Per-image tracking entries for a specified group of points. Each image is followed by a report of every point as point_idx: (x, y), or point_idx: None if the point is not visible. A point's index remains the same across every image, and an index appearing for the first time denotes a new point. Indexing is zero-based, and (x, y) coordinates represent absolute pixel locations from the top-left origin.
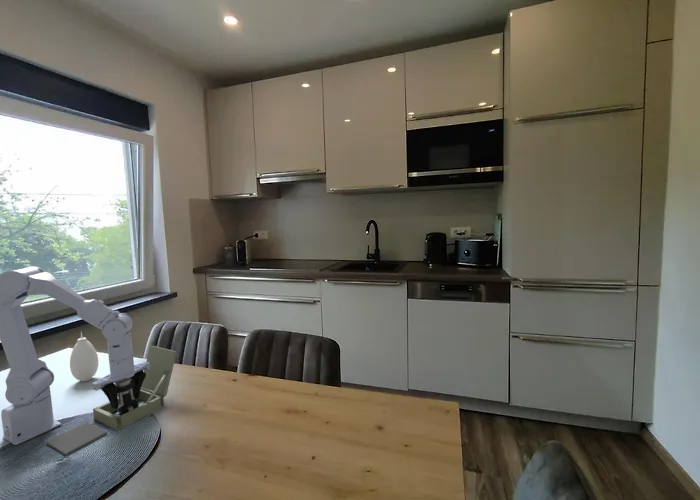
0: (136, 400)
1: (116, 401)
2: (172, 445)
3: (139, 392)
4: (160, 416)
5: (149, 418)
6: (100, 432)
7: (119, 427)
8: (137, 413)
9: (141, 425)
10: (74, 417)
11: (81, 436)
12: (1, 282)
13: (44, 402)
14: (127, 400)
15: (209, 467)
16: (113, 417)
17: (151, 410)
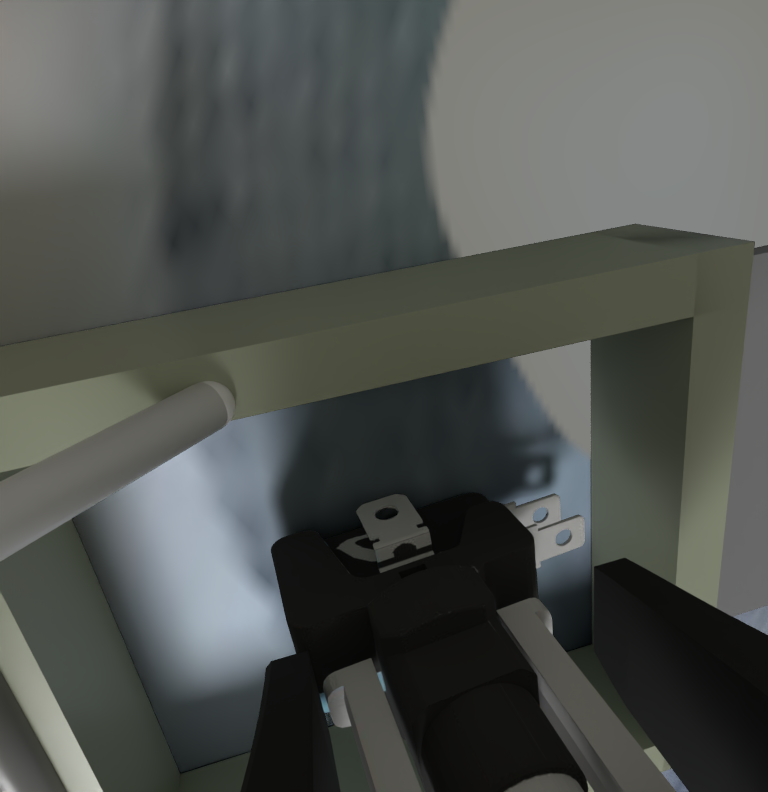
0: (311, 629)
1: (717, 632)
2: None
3: (260, 747)
4: (95, 27)
5: (257, 148)
6: (765, 315)
7: (628, 232)
8: (406, 291)
9: (417, 41)
10: (674, 780)
11: None
12: None
13: None
14: (475, 644)
15: None
16: (731, 360)
17: (166, 319)
